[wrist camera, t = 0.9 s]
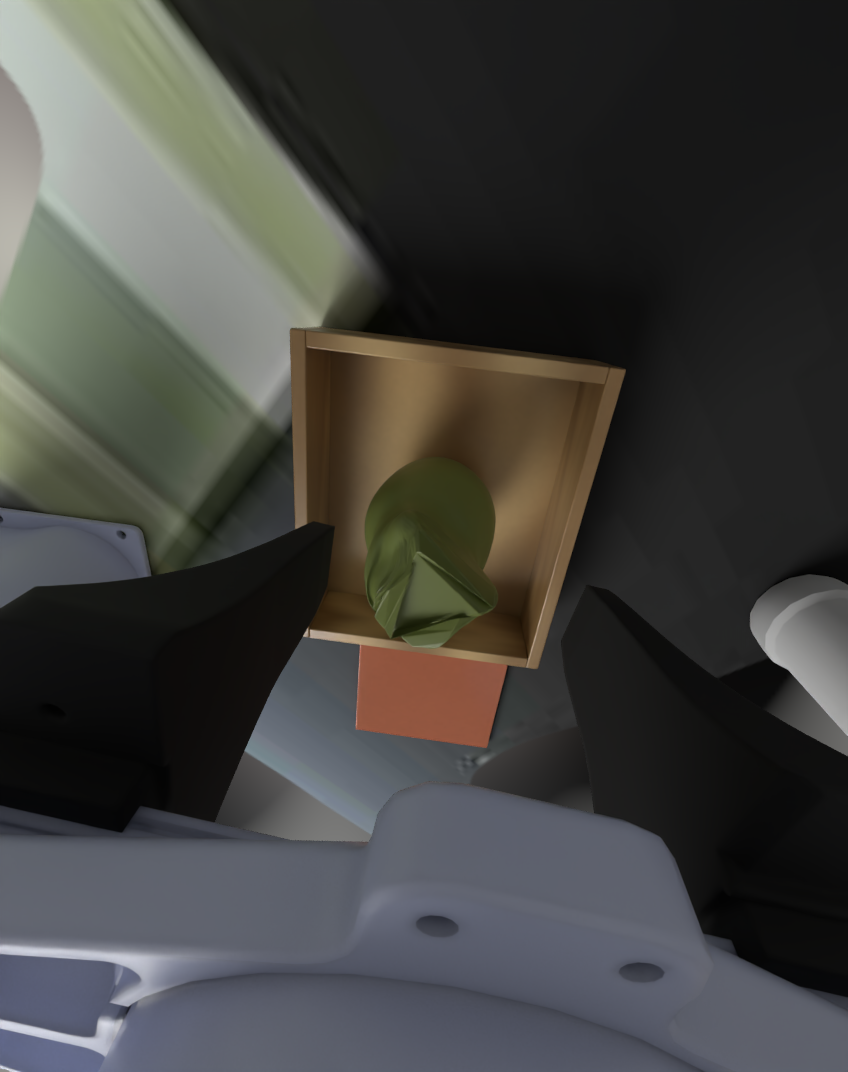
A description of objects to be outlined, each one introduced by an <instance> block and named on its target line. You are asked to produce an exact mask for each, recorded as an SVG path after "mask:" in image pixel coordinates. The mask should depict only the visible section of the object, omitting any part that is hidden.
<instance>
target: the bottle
mask: <svg viewBox="0 0 848 1072" xmlns="http://www.w3.org/2000/svg"><path fill="white" fill-rule="evenodd" d="M750 628H751V631H752V633H753V635H754V637H755V638H756V640H757V641H758V643H759V644H760V646H761V647H762V649H763V650H764V652H765V653H766V654H767V655H768V656H769V658H770V659H771V660H772V661H773V662H775V663H776V664H778V665H780V666H782V667H784V668H786V669H788V670H789V671H790V672H791V673H792V674H793V676H795V678H796V679H797V680H798V681H799V682H800V683H801V684H802V686H803V687H804V688H805V689H806V690H807V691H808V692H809V693H810V694H811V696H812V697H813V698H814V699H815V700H816V701H817V702H818V704H819V705H820V706H821V707H822V708H823V709H824V710H825V711H826V712H827V714H828V715H829V716H830V717H831V718H832V719H833V720H834V721H835V722H836V724H837V725H838V726H839V727H840V728H841V729H842V730H843V732H844V733H845V734H846V735H847V736H848V585H847V584H845V583H843V582H841V581H839V580H837V579H835V578H832V577H828V576H819V575H811V574H808V575H803V576H798V577H793V578H789V579H787V580H785V581H783V582H781V583H779V584H777V585H775V586H773V587H771V588H770V589H769V590H767V591H766V592H765V593H764V594H763V595H762V596H761V597H760V598H759V599H758V600H757V601H756V603H755V605H754V607H753V609H752V611H751V613H750Z"/></svg>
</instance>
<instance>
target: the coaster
mask: <svg viewBox="0 0 848 1072" xmlns="http://www.w3.org/2000/svg"><path fill="white" fill-rule="evenodd" d="M507 667H508V665H504V664H497V663H490V662H482V661H475V660H468V659H461V658H454V657H446V656H439V655H432V654H425V653H417V652H410V651H403V650H396V649H389V648H381V647H374V646H367V645H360V656H359V675H358V693H357V712H356V729H358V730H365V731H372V732H379V733H386V734H393V735H400V736H407V737H414V738H421V739H428V740H435V741H442V742H449V743H456V744H463V745H470V746H477V747H484V748H487V745H488V741H489V737H490V734H491V730H492V726H493V722H494V718H495V714H496V710H497V706H498V702H499V698H500V694H501V690H502V686H503V682H504V679H505V675H506V671H507Z"/></svg>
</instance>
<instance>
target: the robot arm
mask: <svg viewBox="0 0 848 1072" xmlns="http://www.w3.org/2000/svg"><path fill="white" fill-rule="evenodd" d="M122 531H123V532H124V533H125V534H126V535H124V534H123V533H122ZM334 531H335V526H332V525H328V524H323V523H319V522H315V521H313V522H311V523H308V524H306V525H304V526H301V527H299V528H297V529H295V530H293V531H291V532H289V533H287V534H285V535H282V536H280V537H278V538H276V539H274V540H271V541H269V542H267V543H265V544H262V545H260V546H257V547H254V548H252V549H249V550H247V551H244V552H242V553H239V554H237V555H234V556H231V557H228V558H225V559H222V560H219V561H215V562H212V563H208V564H205V565H201V566H197V567H193V568H189V569H184V570H179V571H174V572H169V573H165V574H160V575H154V576H152V575H151V570H150V565H149V560H148V556H147V551H146V546H145V541H144V536H143V533H142V531H141V530H140V528H138V527H136V526H133V525H127V524H119V523H112V522H104V521H97V520H89V519H82V518H74V517H67V516H59V515H52V514H44V513H37V512H30V511H22V510H15V509H7V508H0V1068H1V1069H5V1070H8V1071H11V1072H848V756H846V755H844V754H842V753H840V752H838V751H836V750H834V749H832V748H831V747H829V746H827V745H825V744H823V743H821V742H819V741H817V740H816V739H814V738H812V737H810V736H808V735H806V734H804V733H803V732H801V731H799V730H797V729H796V728H794V727H792V726H790V725H788V724H787V723H785V722H783V721H782V720H780V719H778V718H777V717H775V716H773V715H772V714H770V713H768V712H767V711H765V710H763V709H762V708H760V707H758V706H757V705H755V704H754V703H752V702H751V701H749V700H748V699H746V698H744V697H742V696H741V695H739V694H738V693H737V692H735V691H734V690H732V689H731V688H730V687H728V686H726V685H725V684H724V683H722V682H721V681H720V680H718V679H717V678H715V677H714V676H712V675H711V674H710V673H708V672H707V671H706V670H704V669H703V668H702V667H700V666H699V665H698V664H696V663H695V662H694V661H693V660H691V659H690V658H689V657H688V656H686V655H685V654H684V653H683V652H681V651H680V650H679V649H678V648H676V647H675V646H674V645H673V644H672V643H671V642H669V641H668V640H667V639H666V638H665V637H663V636H662V635H661V634H660V633H659V632H658V631H657V630H655V629H654V628H653V627H652V626H651V625H650V624H649V623H647V622H646V621H645V620H644V619H643V618H642V617H641V616H640V615H638V614H637V613H636V612H635V611H634V610H633V609H632V608H630V607H629V606H628V605H627V604H626V603H625V602H623V601H622V600H621V599H620V598H619V597H617V596H616V595H615V594H613V593H612V592H610V591H609V590H606V589H602V588H598V587H594V586H589V585H586V588H585V590H584V592H583V594H582V596H581V598H580V601H579V603H578V605H577V607H576V609H575V612H574V614H573V616H572V618H571V620H570V622H569V625H568V627H567V629H566V631H565V633H564V635H563V638H562V640H561V646H562V658H563V666H564V673H565V677H566V682H567V685H568V689H569V693H570V697H571V701H572V705H573V709H574V712H575V716H576V720H577V724H578V727H579V731H580V735H581V739H582V742H583V746H584V751H585V756H586V760H587V766H588V773H589V779H590V786H591V793H592V799H593V807H594V813H591V812H587V811H582V810H577V809H573V808H569V807H565V806H560V805H556V804H552V803H547V802H543V801H538V800H534V799H530V798H525V797H521V796H517V795H512V794H508V793H504V792H499V791H494V790H491V789H486V788H482V787H477V786H473V785H469V784H464V783H450V782H432V781H428V782H425V783H422V784H419V785H416V786H413V787H410V788H407V789H403V790H400V791H398V792H397V793H395V794H393V795H392V797H391V798H390V799H389V800H388V802H387V803H386V804H385V805H384V806H383V808H382V809H381V810H380V811H379V813H378V815H377V819H376V822H375V826H374V830H373V833H372V836H371V838H370V840H369V842H349V841H348V842H346V841H301V840H300V841H299V840H288V839H284V838H279V837H275V836H271V835H267V834H262V833H258V832H253V831H249V830H245V829H240V828H235V827H231V826H227V825H223V824H218V823H214V822H215V820H216V817H217V815H218V812H219V810H220V807H221V805H222V802H223V800H224V798H225V795H226V793H227V790H228V788H229V786H230V783H231V781H232V779H233V776H234V774H235V771H236V769H237V767H238V764H239V762H240V759H241V757H242V755H243V753H244V750H245V748H246V746H247V744H248V741H249V739H250V737H251V734H252V732H253V730H254V728H255V725H256V723H257V721H258V719H259V716H260V714H261V712H262V710H263V708H264V706H265V703H266V701H267V699H268V697H269V695H270V693H271V690H272V688H273V687H274V685H275V683H276V681H277V679H278V677H279V675H280V674H281V672H282V670H283V669H284V667H285V665H286V664H287V662H288V660H289V659H290V657H291V655H292V654H293V652H294V650H295V649H296V647H297V645H298V644H299V642H300V640H301V639H302V637H303V635H304V634H305V632H306V630H307V628H308V627H309V625H310V623H311V622H312V620H313V618H314V616H315V615H316V612H317V610H318V608H319V605H320V603H321V601H322V598H323V596H324V593H325V591H326V588H327V585H328V577H329V569H330V562H331V554H332V546H333V539H334Z"/></svg>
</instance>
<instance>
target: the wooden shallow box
mask: <svg viewBox="0 0 848 1072" xmlns="http://www.w3.org/2000/svg"><path fill="white" fill-rule="evenodd" d="M290 355H291V392H292V429H293V465H294V502H295V529H297V528H299V527H301V526H304V525H306V524H308V523H311V522H313V521H315V522H319V523H323V524H328V525H332V526H335V531H334V539H333V546H332V554H331V562H330V569H329V577H328V585H327V588H326V591H325V593H324V596H323V598H322V601H321V603H320V605H319V608H318V610H317V612H316V615H315V616H314V618H313V620H312V622H311V623H310V625H309V627H308V628H307V630H306V632H305V634H304V635H303V637H309V636H310V638H316V639H324V640H331V641H338V642H345V643H353V644H360V645H367V646H374V647H381V648H389V649H396V650H403V651H410V652H417V653H425V654H432V655H439V656H446V657H454V658H461V659H468V660H475V661H482V662H490V663H497V664H504V665H511V666H519V667H527V668H533V669H538V666H539V662H540V659H541V656H542V652H543V649H544V646H545V642H546V639H547V635H548V632H549V629H550V625H551V622H552V619H553V615H554V612H555V608H556V605H557V602H558V598H559V595H560V592H561V588H562V585H563V581H564V578H565V575H566V571H567V568H568V565H569V561H570V558H571V554H572V551H573V548H574V544H575V541H576V538H577V534H578V531H579V527H580V524H581V521H582V517H583V514H584V511H585V507H586V504H587V500H588V497H589V494H590V490H591V487H592V484H593V480H594V477H595V473H596V470H597V467H598V463H599V460H600V457H601V453H602V450H603V446H604V443H605V440H606V436H607V433H608V430H609V426H610V423H611V419H612V416H613V413H614V409H615V406H616V403H617V399H618V396H619V392H620V389H621V386H622V382H623V379H624V376H625V372H626V369H624V368H620V367H617V366H614V365H610V364H607V363H604V362H600V361H597V360H590V359H581V358H573V357H565V356H557V355H549V354H540V353H532V352H524V351H516V350H508V349H499V348H491V347H483V346H475V345H467V344H458V343H450V342H442V341H434V340H425V339H417V338H409V337H401V336H393V335H384V334H376V333H368V332H360V331H352V330H343V329H335V328H327V327H306V328H291V329H290ZM427 457H444V458H448V459H452V460H455V461H457V462H459V463H461V464H463V465H465V466H466V467H468V468H469V469H470V470H472V471H473V472H474V473H475V474H476V475H477V476H478V477H479V478H480V479H481V481H482V482H483V483H484V484H485V486H486V488H487V489H488V491H489V493H490V495H491V498H492V500H493V504H494V508H495V515H496V524H495V533H494V539H493V543H492V547H491V551H490V554H489V557H488V560H487V562H486V565H485V567H484V569H483V572H484V573H485V574H486V575H487V577H488V578H489V579H490V580H491V582H492V583H493V585H494V586H495V587H496V590H497V593H498V602H497V604H496V606H495V607H494V608H493V609H492V610H491V611H490V612H488V613H486V614H483V615H481V616H478V617H476V618H475V619H474V620H472V621H471V622H470V623H468V624H467V625H465V626H464V627H463V628H461V630H458V632H456V633H455V634H454V635H453V636H452V637H451V638H450V639H449V640H448V641H447V642H446V643H444V644H443V645H442V646H440V647H439V648H434V649H429V648H422V647H412V646H411V645H410V644H408V643H407V642H406V641H405V640H403V639H402V637H398V638H393V639H390V637H389V635H388V634H387V632H386V630H385V629H384V628H383V627H382V626H381V625H380V624H379V623H378V621H377V620H376V619H375V617H374V616H375V614H376V613H375V612H374V610H373V609H372V607H371V606H370V604H369V601H368V598H367V594H366V588H365V580H364V570H365V562H366V557H367V553H368V550H367V546H366V541H365V518H366V514H367V510H368V507H369V505H370V503H371V501H372V499H373V497H374V495H375V494H376V492H377V491H378V489H379V488H380V487H381V486H382V484H383V483H384V482H385V481H386V480H387V479H388V478H389V477H390V476H391V475H392V474H394V473H395V472H396V471H397V470H399V469H400V468H402V467H403V466H405V465H407V464H409V463H411V462H413V461H416V460H419V459H422V458H427ZM392 635H393V634H392Z"/></svg>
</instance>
